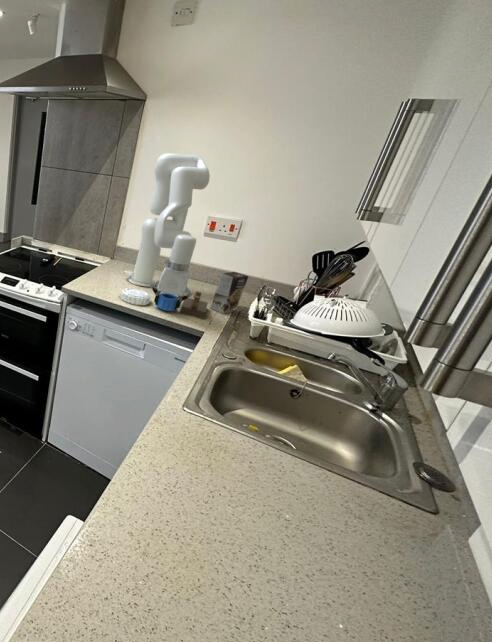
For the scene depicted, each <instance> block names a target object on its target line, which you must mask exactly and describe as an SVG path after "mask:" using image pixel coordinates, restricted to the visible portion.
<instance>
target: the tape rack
mask: <svg viewBox="0 0 492 642" xmlns="http://www.w3.org/2000/svg"><path fill="white" fill-rule="evenodd" d="M201 297H202V291H199V290H196V291H195V293H194V296H193V298H191V297H189V298H187V299H185V300H183V301H182V303H181V306H180V310H179V314H184V315H185V316H190V317H195V318H198V319H202V320H204V319H205V317H206V313H207V310H208V304H209V303H208V301H203V300H201Z"/></svg>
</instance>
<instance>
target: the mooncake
mask: <svg viewBox="0 0 492 642" xmlns="http://www.w3.org/2000/svg"><path fill="white" fill-rule="evenodd" d="M120 299H121V300H122V301H124V302H126V303H127V304H131V305H136V306H147V305H148V304H150V301H151V294H149V293H148V292H146V291H145V290H143V289H142V290H141V289H138V288H133V287H131V288H130V287H128V288H123V289H122V290H121V293H120Z"/></svg>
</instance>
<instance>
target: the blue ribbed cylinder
mask: <svg viewBox="0 0 492 642" xmlns="http://www.w3.org/2000/svg"><path fill="white" fill-rule="evenodd" d="M178 300H179V298H178V296H176V295H172V294H168V293H164V292H161V293H160V295H159V299H158V302H157V305H156V307H157V308H158V309H161V310H163V311H168V312H174V311H176V310H175V307H176V304H177V301H178Z"/></svg>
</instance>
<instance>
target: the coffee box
mask: <svg viewBox="0 0 492 642" xmlns="http://www.w3.org/2000/svg"><path fill="white" fill-rule="evenodd" d="M248 279H249V275H247V274H244V273H240V272H236V271H229V272H222V273H221V276H220V279H219V281H218V284H217V287H216V290H215V293H214V295H213V298H212V301H211V304H210V306H209V308H210V309H211V310H214V311H216V312H219V313H220V314H227V313H232V312H236V311H237V309H235V310H233V309H234V308H236V307H237V308H238V306H239V303H240V300H241V298H242V294H243V292H244V290H245V287H246V284H247V282H248Z"/></svg>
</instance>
